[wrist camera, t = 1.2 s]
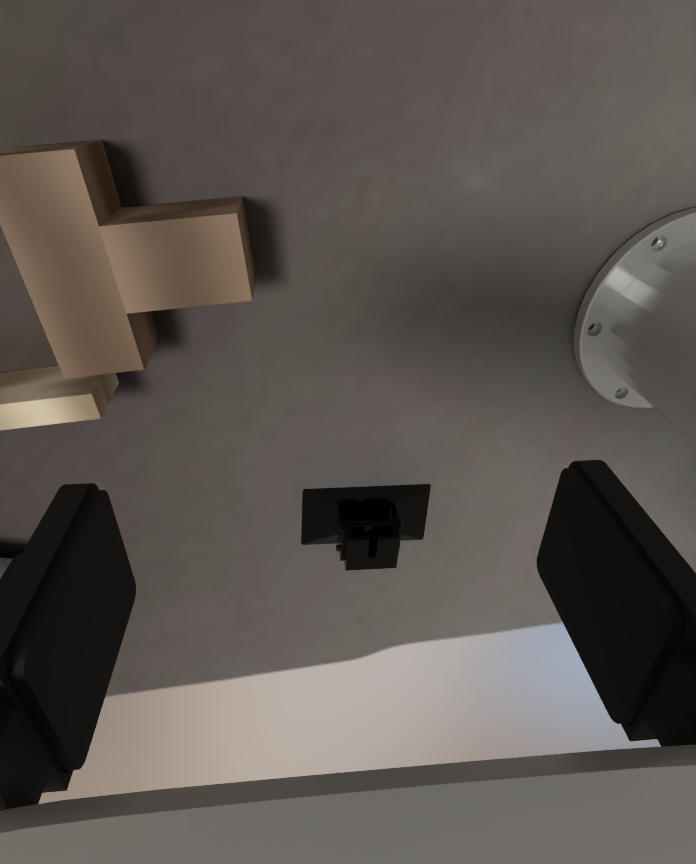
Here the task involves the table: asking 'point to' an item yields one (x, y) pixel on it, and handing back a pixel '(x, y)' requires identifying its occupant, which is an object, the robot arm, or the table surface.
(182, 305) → the tee block
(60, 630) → the robot arm
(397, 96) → the table surface
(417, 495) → the build plate
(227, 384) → the table surface
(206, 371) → the table surface
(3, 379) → the light wooden angled piece
